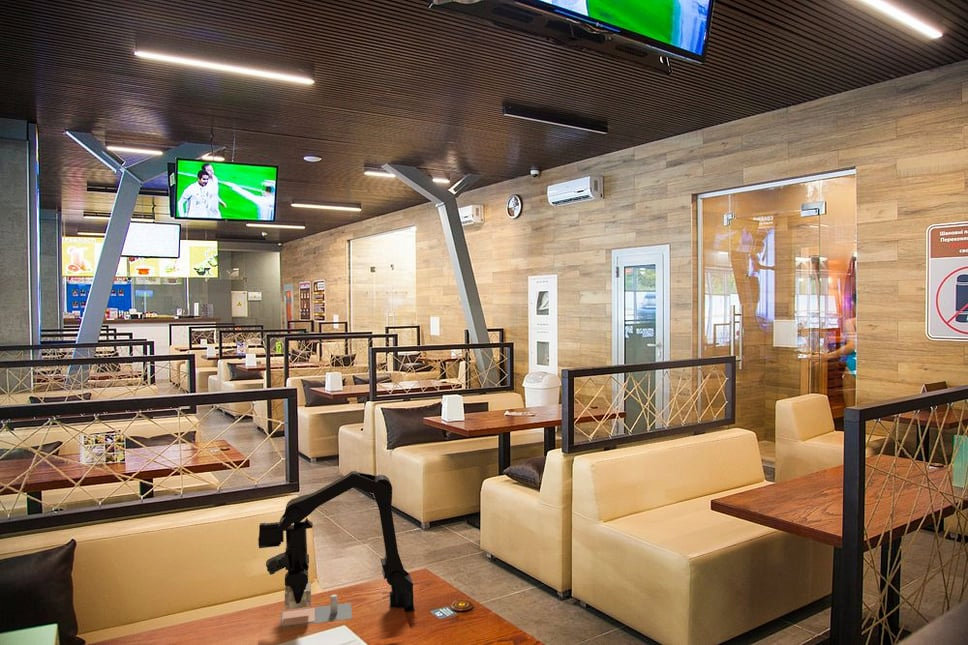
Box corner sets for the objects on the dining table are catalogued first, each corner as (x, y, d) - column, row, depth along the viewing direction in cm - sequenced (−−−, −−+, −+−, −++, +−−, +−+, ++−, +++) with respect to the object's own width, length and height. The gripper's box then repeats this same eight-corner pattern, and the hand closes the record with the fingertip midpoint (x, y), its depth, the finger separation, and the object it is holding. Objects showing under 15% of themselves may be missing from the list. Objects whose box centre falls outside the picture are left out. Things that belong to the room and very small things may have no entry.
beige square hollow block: (311, 596, 196) (310, 581, 196) (310, 606, 189) (310, 590, 189) (286, 599, 194) (285, 584, 194) (285, 609, 187) (284, 593, 187)
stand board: (350, 605, 201) (350, 586, 200) (352, 621, 190) (351, 601, 190) (281, 614, 196) (281, 595, 196) (279, 631, 185) (278, 610, 185)
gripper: (269, 537, 199) (271, 589, 199) (264, 558, 180) (266, 615, 181) (308, 533, 201) (309, 584, 201) (307, 553, 183) (308, 610, 183)
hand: (298, 598), depth 192 cm, fingers closed on beige square hollow block, 7 cm apart
